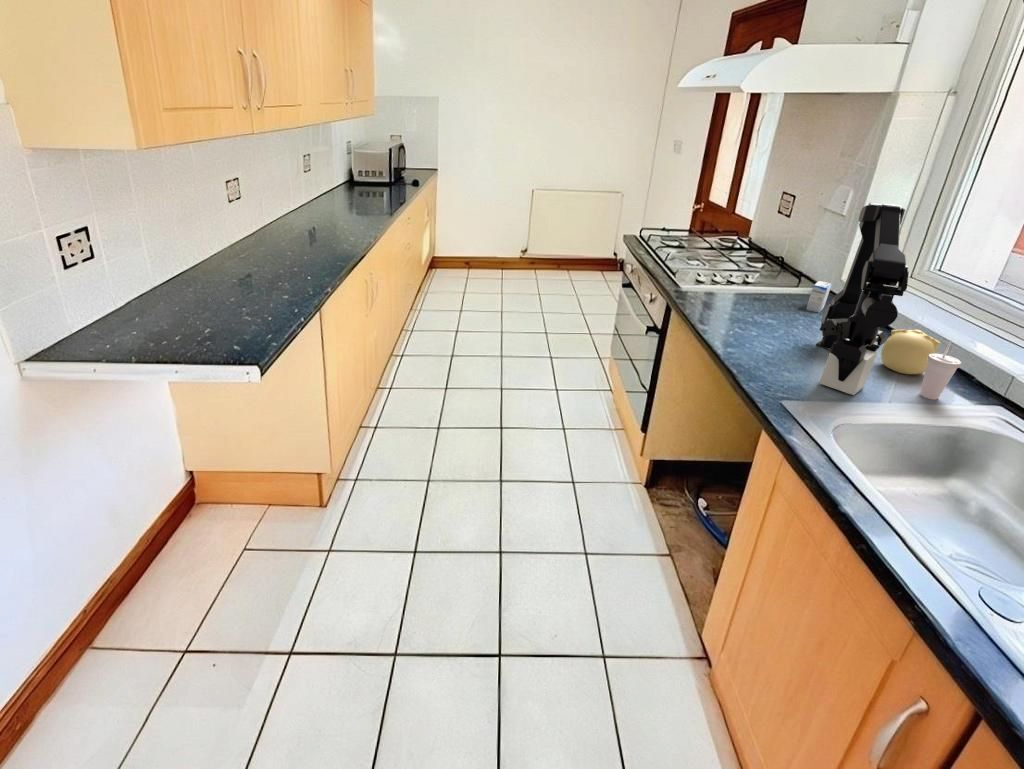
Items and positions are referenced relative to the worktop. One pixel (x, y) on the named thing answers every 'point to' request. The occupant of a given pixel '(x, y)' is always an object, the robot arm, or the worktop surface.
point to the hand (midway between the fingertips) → (846, 376)
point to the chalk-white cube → (854, 379)
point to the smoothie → (938, 373)
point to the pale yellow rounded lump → (908, 351)
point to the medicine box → (818, 296)
